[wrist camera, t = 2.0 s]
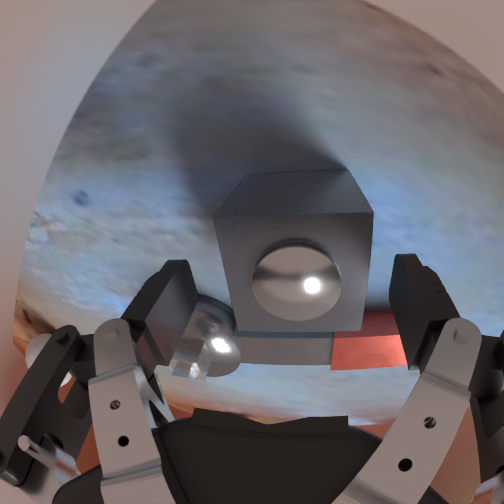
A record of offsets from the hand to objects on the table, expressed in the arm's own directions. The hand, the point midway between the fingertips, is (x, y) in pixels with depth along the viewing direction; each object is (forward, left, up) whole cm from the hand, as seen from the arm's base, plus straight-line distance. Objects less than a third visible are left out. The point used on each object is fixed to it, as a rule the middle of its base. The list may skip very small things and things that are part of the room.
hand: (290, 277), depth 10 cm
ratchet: (+1, +9, -6) cm, 11 cm away
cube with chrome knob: (0, 0, -6) cm, 6 cm away
